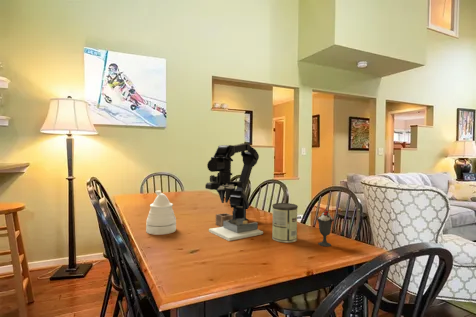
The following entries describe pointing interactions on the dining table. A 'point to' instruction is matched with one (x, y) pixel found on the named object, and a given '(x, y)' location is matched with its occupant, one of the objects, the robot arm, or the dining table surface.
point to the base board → (234, 233)
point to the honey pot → (161, 216)
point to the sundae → (325, 227)
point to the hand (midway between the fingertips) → (224, 202)
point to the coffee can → (284, 222)
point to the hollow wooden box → (222, 218)
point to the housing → (239, 225)
